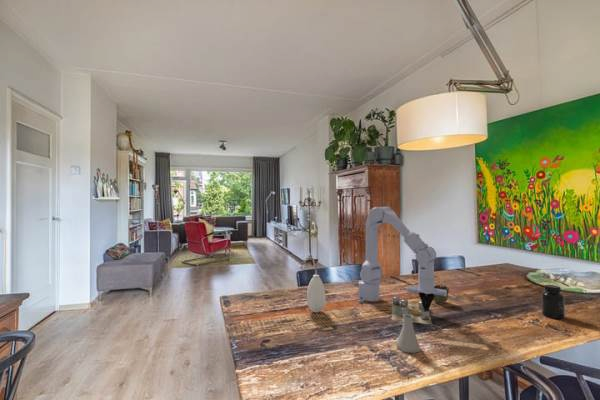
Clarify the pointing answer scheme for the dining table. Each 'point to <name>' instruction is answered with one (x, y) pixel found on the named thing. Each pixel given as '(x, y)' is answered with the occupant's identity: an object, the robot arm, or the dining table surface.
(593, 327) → the dining table surface
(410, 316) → the flask
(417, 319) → the birch board
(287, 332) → the dining table surface
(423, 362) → the dining table surface
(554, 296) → the supplement bottle
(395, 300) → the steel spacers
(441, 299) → the cup
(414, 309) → the brass nut
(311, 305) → the sauce bottle
